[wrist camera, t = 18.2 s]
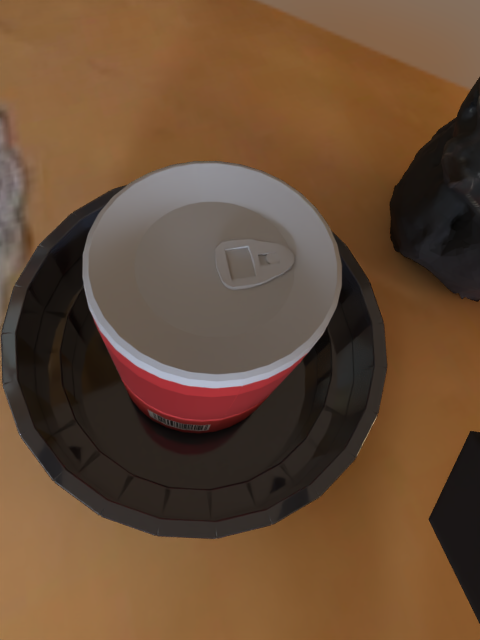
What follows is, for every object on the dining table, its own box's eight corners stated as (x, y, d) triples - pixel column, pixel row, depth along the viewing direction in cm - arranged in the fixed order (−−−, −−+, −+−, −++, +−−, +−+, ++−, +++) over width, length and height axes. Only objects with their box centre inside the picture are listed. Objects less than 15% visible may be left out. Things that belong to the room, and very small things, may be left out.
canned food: (299, 393, 24) (391, 313, 14) (159, 466, 21) (145, 436, 11) (232, 275, 26) (269, 129, 16) (98, 330, 23) (40, 202, 13)
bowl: (-2, 292, 24) (-49, 238, 19) (259, 201, 29) (277, 137, 24) (109, 599, 20) (87, 634, 15) (398, 434, 24) (457, 416, 19)
